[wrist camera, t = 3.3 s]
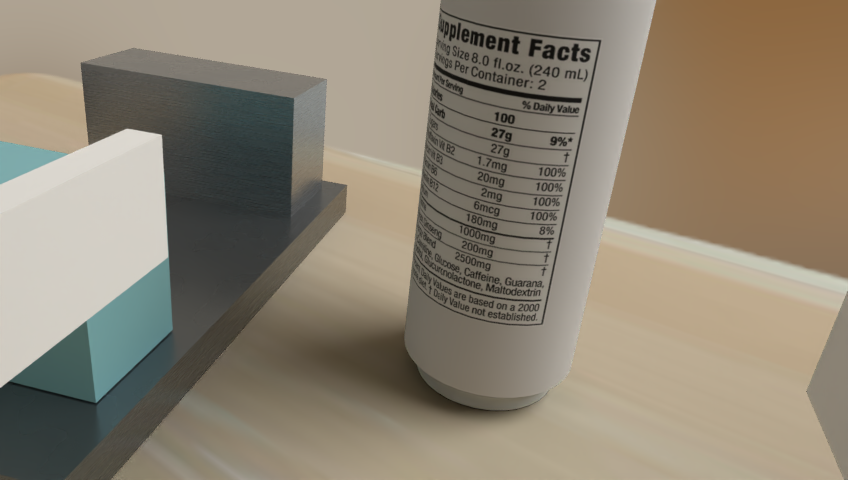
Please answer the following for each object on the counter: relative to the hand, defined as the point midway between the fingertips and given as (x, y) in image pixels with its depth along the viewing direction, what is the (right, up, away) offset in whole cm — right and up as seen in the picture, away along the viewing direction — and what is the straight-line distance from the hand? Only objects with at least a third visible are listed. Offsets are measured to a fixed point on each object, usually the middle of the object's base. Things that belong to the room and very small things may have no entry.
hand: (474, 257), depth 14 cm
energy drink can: (+1, -5, +13) cm, 13 cm away
